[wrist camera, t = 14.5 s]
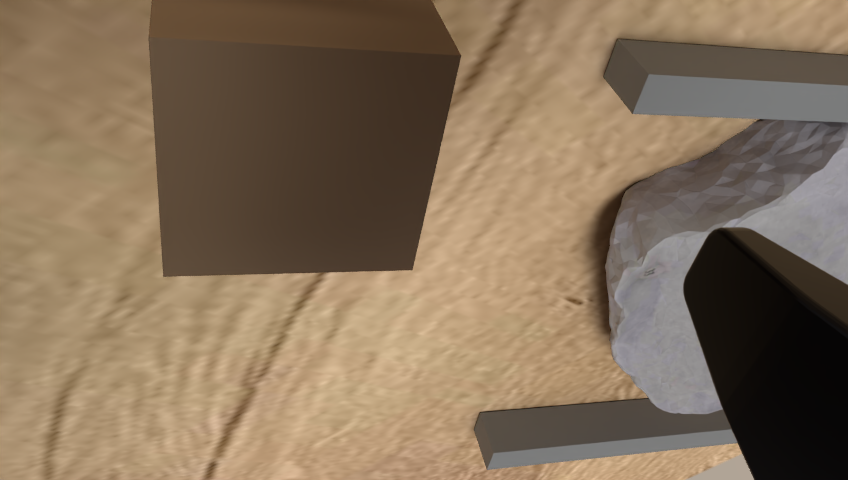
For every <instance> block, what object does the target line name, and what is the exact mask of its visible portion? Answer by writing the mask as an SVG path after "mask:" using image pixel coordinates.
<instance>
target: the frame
mask: <svg viewBox="0 0 848 480" xmlns="http://www.w3.org/2000/svg"><path fill="white" fill-rule="evenodd" d="M604 78H605V80H606V81H607V82H608V84H609V85H610V86H611V87H612V89H613V90H614V91H615V92H616V94H617V95H618V96H619V97H620V99H621V100H622V101H623V102H624V104H625V105H626V106H627V107H628V109H629V110H630V111H631V113H632V114H647V115H672V116H698V117H723V118H748V119H773V120H798V121H823V122H848V55H834V54H820V53H806V52H792V51H778V50H764V49H750V48H736V47H722V46H708V45H694V44H681V43H667V42H653V41H639V40H625V39H617V42H616V44H615V47H614V50H613V53H612V55H611V58H610V61H609V64H608V66H607V69H606V72H605V74H604ZM474 431H475V434H476V437H477V441H478V444H479V447H480V450H481V453H482V456H483V459H484V462H485V465H486V468H487V470H490V469H499V468H508V467H518V466H527V465H536V464H546V463H555V462H565V461H574V460H583V459H593V458H602V457H611V456H621V455H630V454H639V453H649V452H658V451H667V450H677V449H686V448H695V447H705V446H714V445H724V444H733V443H737V441H736V438H735V436H734V434H733V432H732V430H731V427H730V425H729V423H728V421H727V418H726V416H725V414H724V411H723V409H722V410H718V411H715V412H712V413H708V414H681V413H670V412H666V411H663V410H662V409H660V408H658V407H656V406H655V405H654V404H653V403H652V402H650V399H639V400H627V401H615V402H603V403H591V404H579V405H567V406H555V407H543V408H531V409H519V410H507V411H495V412H483V413H480V414H479V417H478V420H477V423H476V425H475V428H474Z"/></svg>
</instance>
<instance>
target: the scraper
mask: <svg viewBox="0 0 848 480" xmlns="http://www.w3.org/2000/svg"><path fill="white" fill-rule="evenodd" d="M149 50H150V66H151V83H152V99H153V115H154V132H155V148H156V164H157V181H158V197H159V213H160V230H161V246H162V262H163V277H167V276H205V275H243V274H281V273H319V272H357V271H395V270H413V265H414V261H415V257H416V252H417V248H418V243H419V239H420V234H421V230H422V226H423V221H424V217H425V212H426V208H427V204H428V199H429V195H430V190H431V186H432V182H433V177H434V173H435V168H436V164H437V160H438V155H439V151H440V146H441V142H442V138H443V133H444V129H445V124H446V120H447V116H448V111H449V107H450V102H451V98H452V94H453V89H454V85H455V80H456V76H457V71H458V67H459V63H460V58H461V54H460V53H459V51H458V49H457V47H456V45H455V43H454V41H453V40H452V38H451V36H450V34H449V32H448V30H447V29H446V27H445V25H444V23H443V21H442V19H441V17H440V16H439V14H438V12H437V10H436V8H435V6H434V5H433V3H432V1H431V0H152V7H151V18H150V29H149Z"/></svg>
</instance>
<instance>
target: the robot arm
mask: <svg viewBox="0 0 848 480" xmlns="http://www.w3.org/2000/svg"><path fill="white" fill-rule="evenodd" d="M683 294H684V299H685V302H686V305H687V308H688V311H689V313H690V316H691V319H692V322H693V325H694V328H695V331H696V334H697V337H698V340H699V343H700V346H701V349H702V352H703V355H704V358H705V361H706V364H707V366H708V369H709V372H710V375H711V378H712V381H713V384H714V387H715V390H716V393H717V395H718V398H719V401H720V404H721V406H722V409H723V411H724V414H725V416H726V418H727V421H728V423H729V425H730V427H731V430H732V432H733V434H734V436H735V438H736V441H737V443H738V445H739V447H740V449H741V452H742V454H743V456H744V458H745V460H746V463H747V465H748V467H749V469H750V471H751V474H752V476H753V478H754V480H848V284H846V283H844V282H842V281H841V280H839V279H837V278H835V277H834V276H832V275H830V274H829V273H827V272H825V271H823V270H822V269H820V268H818V267H816V266H815V265H813V264H811V263H809V262H808V261H806V260H804V259H803V258H801V257H799V256H797V255H796V254H794V253H792V252H790V251H789V250H787V249H785V248H783V247H782V246H780V245H778V244H777V243H775V242H773V241H771V240H770V239H768V238H766V237H764V236H763V235H761V234H759V233H757V232H756V231H754V230H752V229H749V228H745V227H721V228H717V229H714V230H713V231H712V232H711V233H709V235H708V236H707V237H706V239H705V241H704V243H703V245H702V246H701V248H700V250H699V252H698V254H697V256H696V257H695V259H694V261H693V263H692V265H691V266H690V268H689V270H688V272H687V274H686V276H685V279H684V283H683Z"/></svg>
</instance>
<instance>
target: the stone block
mask: <svg viewBox="0 0 848 480" xmlns="http://www.w3.org/2000/svg"><path fill="white" fill-rule="evenodd" d="M721 227H745V228H749V229H752V230H754V231H756V232H757V233H759V234H761V235H763V236H764V237H766V238H768V239H770V240H771V241H773V242H775V243H777V244H778V245H780V246H782V247H783V248H785V249H787V250H789V251H790V252H792V253H794V254H796V255H797V256H799V257H801V258H803V259H804V260H806V261H808V262H809V263H811V264H813V265H815V266H816V267H818V268H820V269H822V270H823V271H825V272H827V273H829V274H830V275H832V276H834V277H835V278H837V279H839V280H841V281H842V282H844V283H846V284H848V122H823V121H798V120H773V119H765V120H763V121H756V122H754V123H753V124H752V125H750V126H749V127H748V128H746V129H745V130H744V131H742V132H741V133H739V134H737V135H735V136H733V137H732V138H730V139H729V140H727V141H726V142H724V143H723V144H722V145H720V146H719V147H718V148H717V149H716V150H715V151H713V152H711V153H709V154H707V155H706V156H704V157H702V158H700V159H697V160H694V161H691V162H688V163H685V164H682V165H679V166H675V167H671V168H667V169H665V170H663V171H661V172H659V173H657V174H655V175H653V176H651V177H649V178H647V179H644V180H642V181H639V182H637V183H636V184H634V185H633V186H632V187H630V188H629V189H628V190H626V192H625V194H624V196H623V198H622V202H621V207H620V209H619V211H618V214H617V217H616V220H615V224H614V227H613V229H612V232H611V236H610V248H609V251H608V255H607V262H606V265H605V269H606V279H607V290H608V295H609V312H610V314H609V325H610V327H611V335H610V342H611V349H612V356H613V359H614V360H615V362H616V363H617V364H618V365H619V366H620V368H621V369H622V370H624V371H625V372H626V373H627V374H628V375H630V376H631V379H632V380H633V382H634V384H635V385H636V386H637V387H639V388H640V389H642V390H643V391H644V392H645V393H646V395H647V397H648V398H649V399H650V402H652V403H653V404H654V405H655V406H656V407H658V408H660V409H662V410H663V411H666V412H670V413H681V414H708V413H712V412H715V411H718V410H722V406H721V404H720V401H719V398H718V395H717V393H716V390H715V387H714V384H713V381H712V378H711V375H710V372H709V369H708V366H707V364H706V361H705V358H704V355H703V352H702V349H701V346H700V343H699V340H698V337H697V334H696V331H695V328H694V325H693V322H692V319H691V316H690V313H689V311H688V308H687V305H686V302H685V299H684V294H683V283H684V279H685V276H686V274H687V272H688V270H689V268H690V266H691V265H692V263H693V261H694V259H695V257H696V256H697V254H698V252H699V250H700V248H701V246H702V245H703V243H704V241H705V239H706V237H707V236H708V235H709V233H711V232H712V231H713V230H714V229H717V228H721Z"/></svg>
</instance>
